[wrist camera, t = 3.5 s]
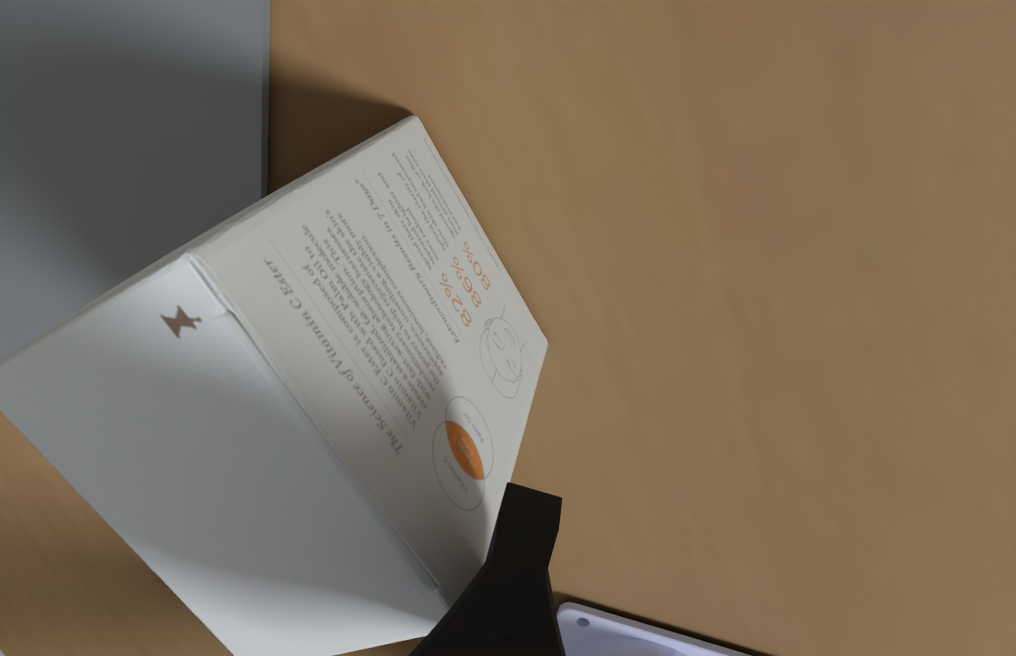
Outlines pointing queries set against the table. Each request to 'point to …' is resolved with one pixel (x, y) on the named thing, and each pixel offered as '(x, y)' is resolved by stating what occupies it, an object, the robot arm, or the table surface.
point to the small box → (301, 405)
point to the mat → (121, 141)
